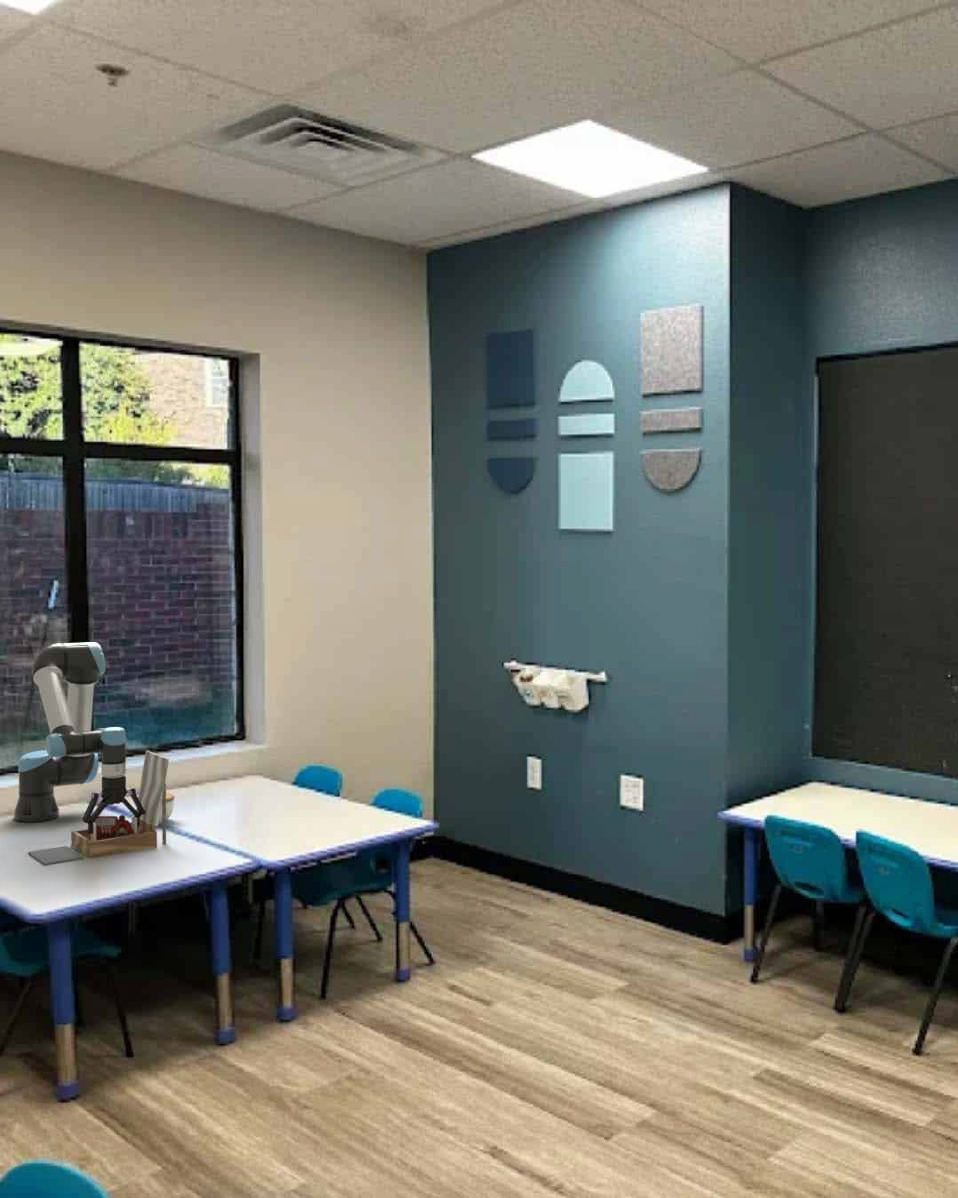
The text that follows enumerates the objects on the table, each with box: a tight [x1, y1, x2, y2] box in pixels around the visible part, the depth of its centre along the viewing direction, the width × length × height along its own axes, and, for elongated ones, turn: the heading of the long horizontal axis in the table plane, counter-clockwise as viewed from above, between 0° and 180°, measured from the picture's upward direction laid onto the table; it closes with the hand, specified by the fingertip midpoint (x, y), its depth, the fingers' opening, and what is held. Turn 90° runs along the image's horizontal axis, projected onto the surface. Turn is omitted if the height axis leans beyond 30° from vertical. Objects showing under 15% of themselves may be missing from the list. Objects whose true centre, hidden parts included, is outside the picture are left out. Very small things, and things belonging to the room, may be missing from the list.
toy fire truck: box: [94, 814, 134, 841], centre depth 377 cm, size 7×12×10 cm, turn 99°
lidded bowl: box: [158, 792, 175, 825], centre depth 410 cm, size 13×13×11 cm
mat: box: [27, 845, 84, 866], centre depth 365 cm, size 16×12×1 cm
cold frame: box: [70, 750, 170, 859], centre depth 378 cm, size 17×26×29 cm, turn 129°
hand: (114, 840), depth 377 cm, fingers open, 13 cm apart
